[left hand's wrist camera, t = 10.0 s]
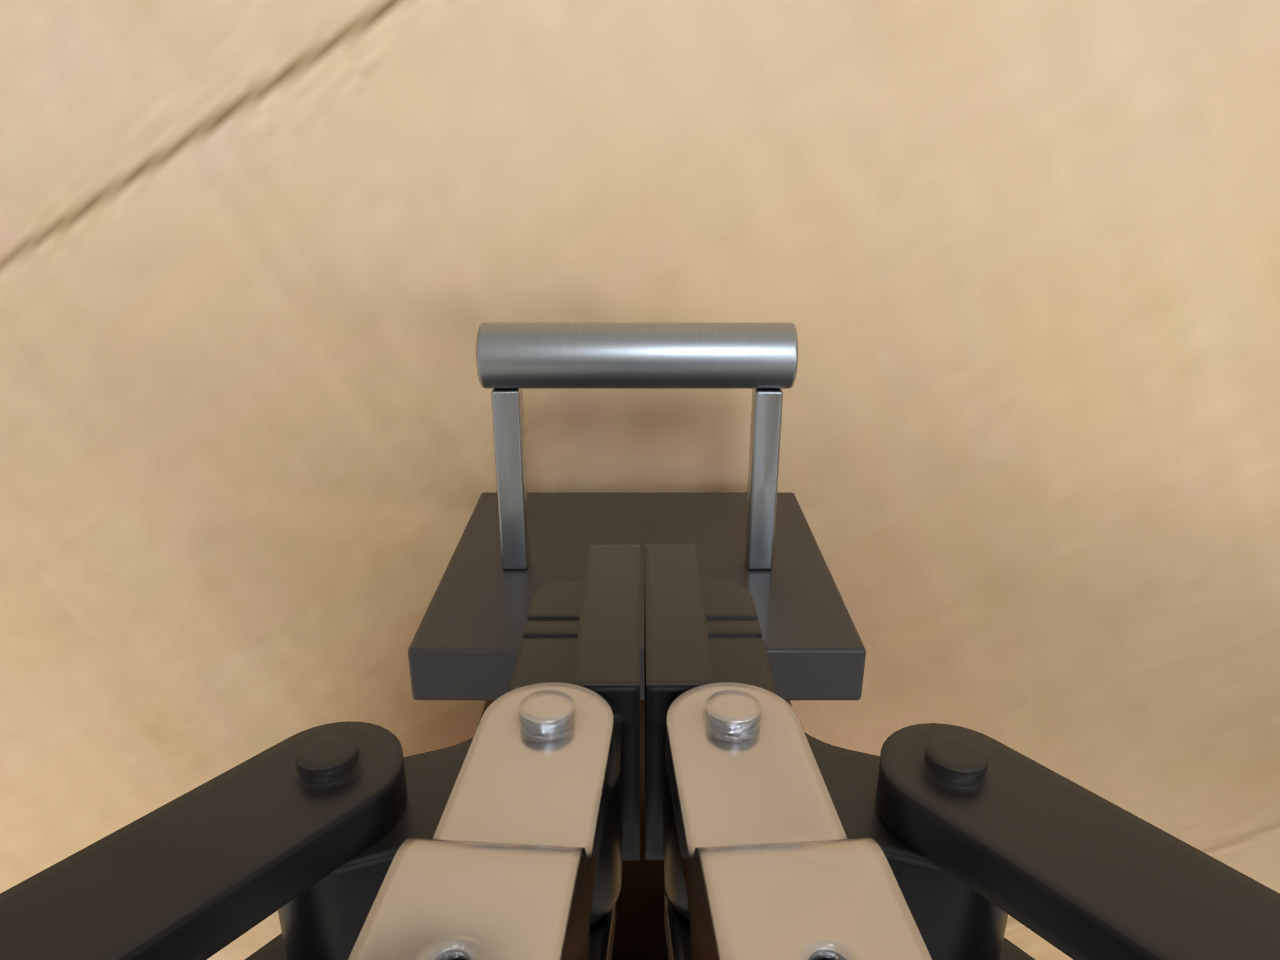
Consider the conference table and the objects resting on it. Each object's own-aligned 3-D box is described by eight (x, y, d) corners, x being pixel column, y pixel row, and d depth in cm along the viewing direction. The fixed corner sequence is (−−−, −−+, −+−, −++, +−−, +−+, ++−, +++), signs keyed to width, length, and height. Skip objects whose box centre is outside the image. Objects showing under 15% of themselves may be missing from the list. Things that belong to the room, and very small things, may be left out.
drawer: (467, 290, 23) (375, 362, 15) (807, 290, 23) (897, 362, 15) (514, 975, 32) (471, 1254, 24) (761, 975, 32) (803, 1254, 24)
